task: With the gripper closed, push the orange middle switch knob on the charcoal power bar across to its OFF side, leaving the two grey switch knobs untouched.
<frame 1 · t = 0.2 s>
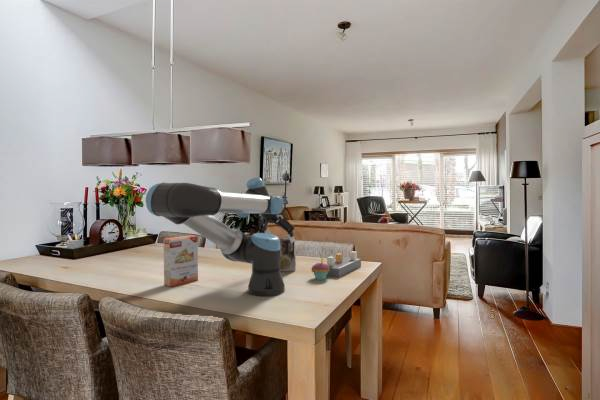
hand: (281, 240, 176), 16 cm above the table, tool tilted 35°, fingers open, 13 cm apart
coffee box: (286, 270, 180), on the table
cupcake: (320, 278, 163), on the table
switch 2: (339, 257, 179), point 6 cm above the table, slide at 0.0 cm
cracker box: (181, 283, 158), on the table
power bar: (342, 270, 178), on the table
switch 3: (353, 255, 184), point 6 cm above the table, slide at 4.0 cm
switch 1: (330, 261, 171), point 6 cm above the table, slide at 0.0 cm, touching power bar
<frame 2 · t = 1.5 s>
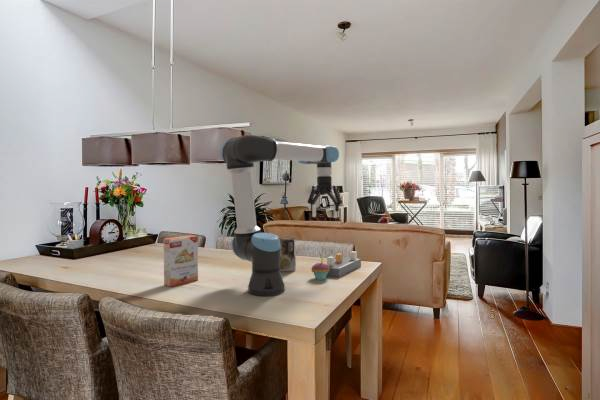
hand: (324, 217, 182), 27 cm above the table, tool pointing down, fingers open, 12 cm apart
nothing on the table moved.
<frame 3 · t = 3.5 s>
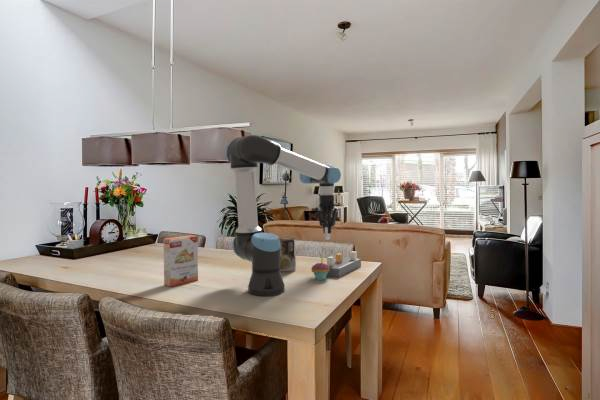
hand: (327, 239, 182), 15 cm above the table, tool pointing down, fingers closed
nothing on the table moved.
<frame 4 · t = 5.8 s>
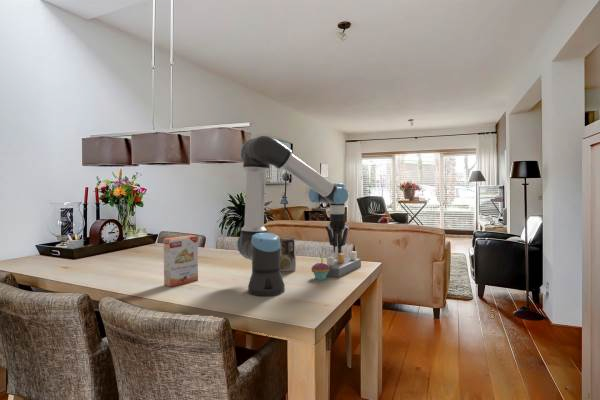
hand: (337, 259, 179), 5 cm above the table, tool pointing down, fingers closed
switch 2: (340, 258, 178), point 6 cm above the table, slide at 1.1 cm, touching gripper
everything else where it was.
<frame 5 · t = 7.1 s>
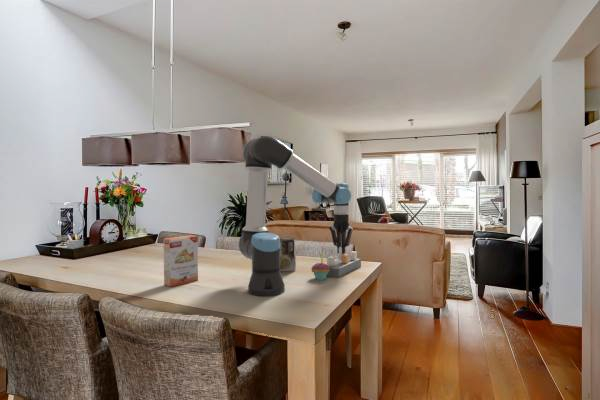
hand: (341, 259, 178), 5 cm above the table, tool pointing down, fingers closed
switch 2: (345, 258, 177), point 6 cm above the table, slide at 3.5 cm
everything else where it was.
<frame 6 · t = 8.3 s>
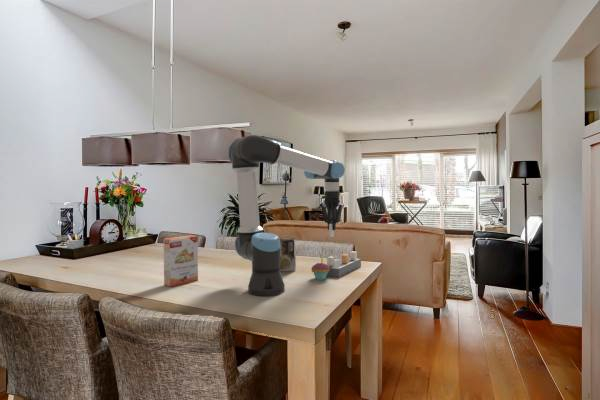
hand: (331, 236, 180), 17 cm above the table, tool pointing down, fingers closed
nothing on the table moved.
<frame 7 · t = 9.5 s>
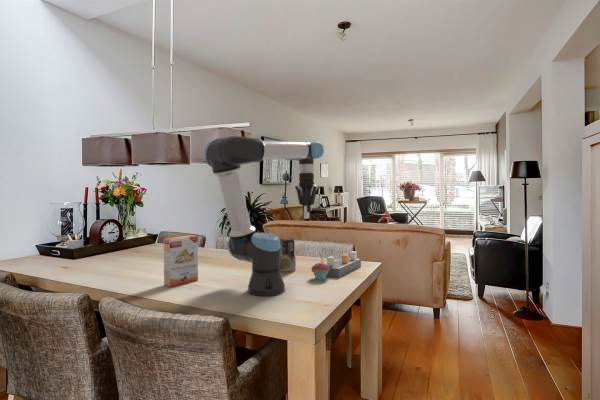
hand: (306, 218, 180), 26 cm above the table, tool pointing down, fingers closed
nothing on the table moved.
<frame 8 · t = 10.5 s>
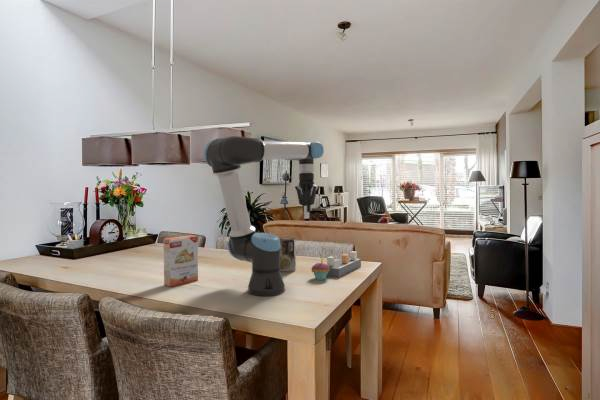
hand: (306, 218, 180), 26 cm above the table, tool pointing down, fingers closed
nothing on the table moved.
at the end: switch 2 slide at 3.5 cm; switch 1 slide at 0.0 cm; switch 3 slide at 4.0 cm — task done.
